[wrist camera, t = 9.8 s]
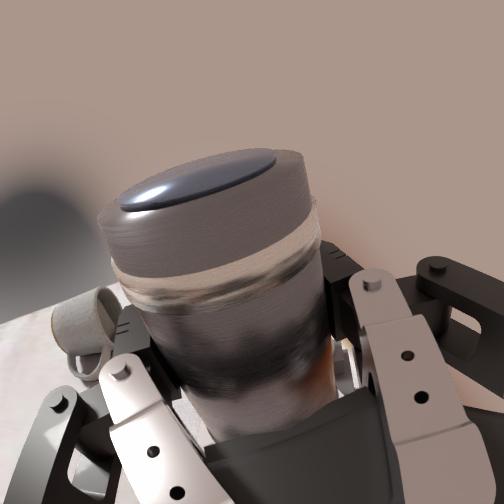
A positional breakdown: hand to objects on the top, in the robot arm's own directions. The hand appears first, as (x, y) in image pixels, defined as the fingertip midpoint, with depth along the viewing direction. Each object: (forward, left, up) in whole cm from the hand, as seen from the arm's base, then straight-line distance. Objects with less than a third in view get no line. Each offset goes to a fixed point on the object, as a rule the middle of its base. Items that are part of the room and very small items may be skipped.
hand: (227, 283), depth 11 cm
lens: (+1, -3, -7) cm, 7 cm away
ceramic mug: (-23, +13, -17) cm, 32 cm away
